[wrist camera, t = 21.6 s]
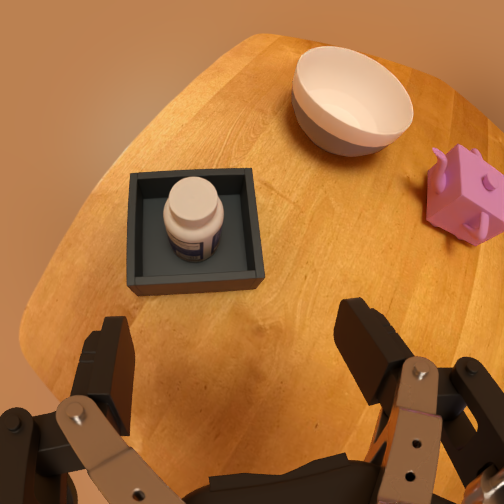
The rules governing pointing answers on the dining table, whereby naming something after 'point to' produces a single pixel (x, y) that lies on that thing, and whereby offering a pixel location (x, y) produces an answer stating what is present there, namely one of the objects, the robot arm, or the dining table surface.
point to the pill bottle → (193, 219)
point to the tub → (159, 249)
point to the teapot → (465, 195)
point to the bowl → (348, 101)
